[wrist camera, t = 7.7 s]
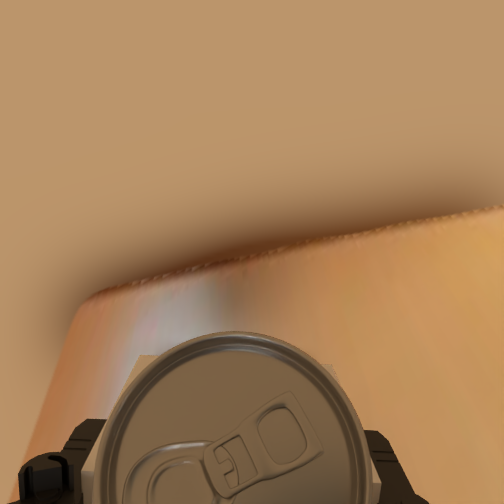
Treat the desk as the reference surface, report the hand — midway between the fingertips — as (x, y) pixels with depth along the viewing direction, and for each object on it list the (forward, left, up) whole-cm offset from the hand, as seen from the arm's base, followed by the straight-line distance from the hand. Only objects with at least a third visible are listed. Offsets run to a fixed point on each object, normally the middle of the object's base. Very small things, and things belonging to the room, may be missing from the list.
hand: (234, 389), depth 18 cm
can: (0, +4, -4) cm, 5 cm away
